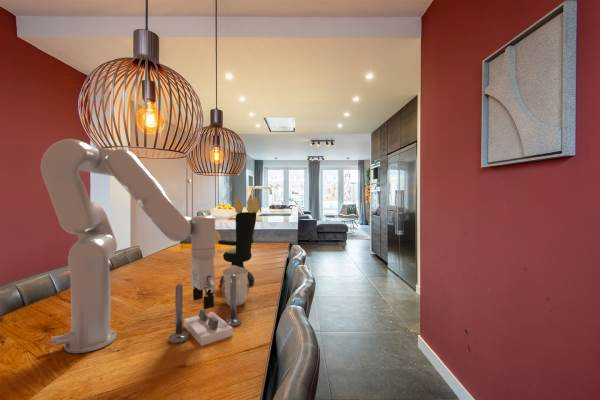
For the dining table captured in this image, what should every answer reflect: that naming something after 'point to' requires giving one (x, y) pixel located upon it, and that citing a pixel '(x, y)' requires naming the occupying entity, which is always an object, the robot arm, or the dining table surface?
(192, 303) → the dining table surface
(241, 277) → the pitcher
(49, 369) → the dining table surface
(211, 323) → the square dumbbell
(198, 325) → the panel
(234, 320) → the rod right
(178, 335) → the rod left
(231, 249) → the flowering cactus
